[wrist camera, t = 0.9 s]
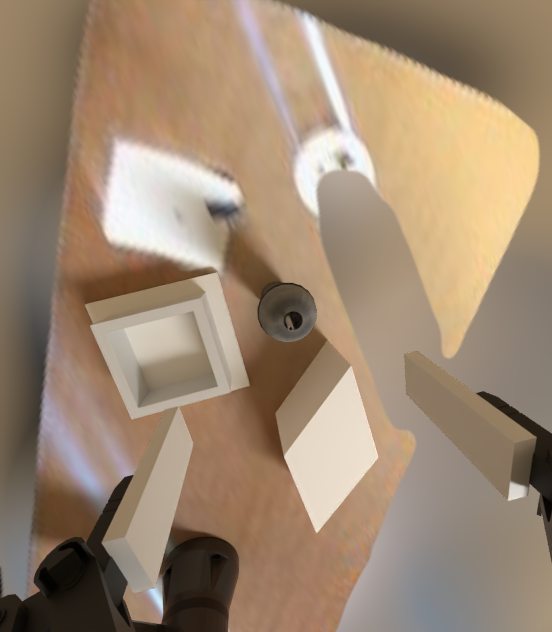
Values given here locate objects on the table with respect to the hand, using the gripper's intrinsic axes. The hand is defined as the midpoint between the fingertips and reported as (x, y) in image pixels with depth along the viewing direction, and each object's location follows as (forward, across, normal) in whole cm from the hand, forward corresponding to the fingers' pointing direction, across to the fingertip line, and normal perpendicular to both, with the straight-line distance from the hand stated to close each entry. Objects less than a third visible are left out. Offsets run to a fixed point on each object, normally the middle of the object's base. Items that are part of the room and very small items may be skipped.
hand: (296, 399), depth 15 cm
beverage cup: (+29, -1, +1) cm, 29 cm away
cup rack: (+28, +17, +6) cm, 33 cm away
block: (+28, -4, +25) cm, 38 cm away
